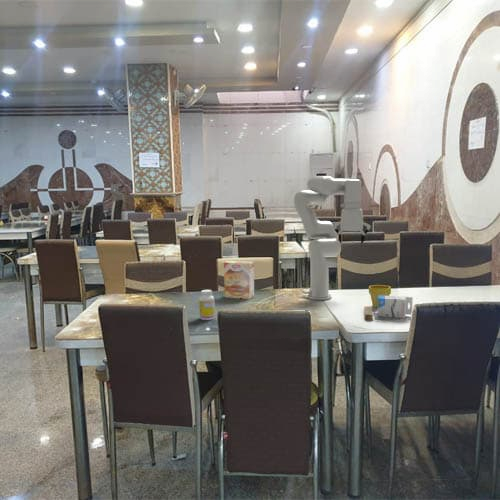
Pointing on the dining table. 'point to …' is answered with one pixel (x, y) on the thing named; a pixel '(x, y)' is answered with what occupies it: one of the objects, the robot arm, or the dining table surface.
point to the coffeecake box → (239, 279)
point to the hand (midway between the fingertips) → (351, 243)
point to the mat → (385, 317)
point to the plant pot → (378, 293)
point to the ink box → (394, 306)
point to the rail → (368, 313)
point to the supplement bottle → (207, 305)
